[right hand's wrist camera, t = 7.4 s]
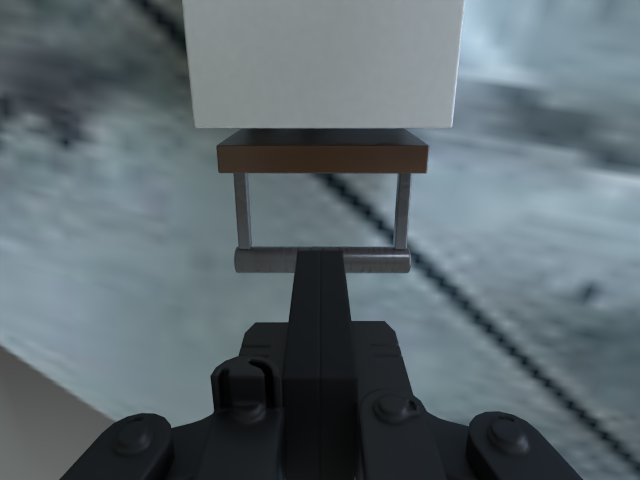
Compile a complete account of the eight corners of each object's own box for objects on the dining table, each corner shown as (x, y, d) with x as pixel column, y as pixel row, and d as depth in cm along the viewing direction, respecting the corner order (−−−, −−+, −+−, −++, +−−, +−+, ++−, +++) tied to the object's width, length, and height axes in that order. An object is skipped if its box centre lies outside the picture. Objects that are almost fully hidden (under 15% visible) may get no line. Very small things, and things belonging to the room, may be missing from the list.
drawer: (394, 238, 28) (417, 291, 21) (251, 238, 28) (228, 291, 21) (428, -306, 19) (487, -516, 12) (219, -305, 19) (161, -513, 12)
